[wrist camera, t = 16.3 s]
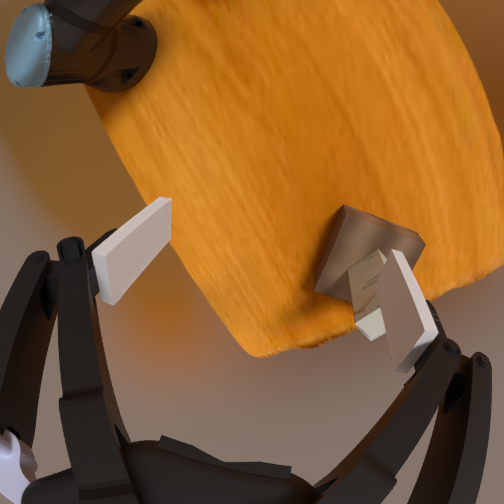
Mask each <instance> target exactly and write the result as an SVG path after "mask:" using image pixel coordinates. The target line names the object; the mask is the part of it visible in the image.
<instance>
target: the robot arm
mask: <svg viewBox="0 0 504 504" xmlns="http://www.w3.org/2000/svg"><path fill="white" fill-rule="evenodd" d="M141 1H143V0H45V1H44V3H43V4H42V3H40V2H38V3H35V4H31V5H29V6H28V7H27V8H25V9H24V10H23V11H22V12H21V13H20V14H19V16H18V17H17V19H16V20H15V22H14V24H13V26H12V28H11V31H10V34H9V37H8V40H7V44H6V50H5V51H6V52H5V68H6V73H7V76H8V78H9V80H10V82H11V83H12V84H13V85H14V86H16V87H20V88H22V87H34V88H38V87H44V86H52V85H62V84H74V83H84V84H86V85H88V86H91V87H93V88H95V89H97V90H99V91H103V92H119V91H123V90H126V89H128V88H130V87H132V86H133V85H135V84H136V83H137V82H138V81H139V80H140V79H141V78H142V77H143V76H144V75H145V74H146V72H147V71H148V69H149V68H150V66H151V64H152V62H153V60H154V57H155V53H156V49H157V36H156V32H155V30H154V28H153V26H152V25H151V23H150V22H148V21H147V20H146V19H144V18H141V17H138V16H136V15H130V14H129V13H130V12H131V11H132V10H133V9H134V8H135V7H136V6H137V5H138V4H139V3H140V2H141ZM171 203H172V199H170V198H165V197H159V198H158V199H156V200H155V201H154V202H152V203H151V204H150V205H148V206H147V207H146V208H144V209H143V210H142V211H141V212H139V213H138V214H137V215H135V216H134V217H133V218H132V219H130V220H129V221H128V222H127V223H125V224H124V225H123V226H122V227H120V228H119V229H116V228H115V229H113V230H110V231H108V232H106V233H105V234H104V235H103V236H101V238H99V239H98V240H97V241H96V242H94V243H93V244H92V245H90V246H89V247H88V248H87V249H86V250H85V247H84V242H83V240H82V239H81V238H80V237H68V238H65V239H63V240H61V241H60V242H59V243H58V244H57V251H58V255H59V260H60V261H53V260H50V256H49V254H48V252H46V251H36V252H33V253H32V254H31V255H29V256H28V258H27V259H26V260H25V262H24V264H23V266H22V268H21V269H20V271H19V273H18V275H17V277H16V279H15V281H14V282H13V284H12V286H11V288H10V290H9V292H8V294H7V296H6V298H5V301H4V303H3V305H2V307H1V309H0V493H2V494H3V495H4V496H5V497H6V498H8V499H9V500H10V501H12V502H13V503H15V504H381V503H382V501H383V500H384V499H385V498H386V496H387V495H388V494H389V493H390V491H391V490H392V489H393V487H394V486H395V484H396V482H397V479H396V478H395V476H396V474H397V473H398V471H399V470H400V468H401V467H402V466H403V464H404V463H405V461H406V460H407V458H408V457H409V455H410V454H411V452H412V451H413V449H414V448H415V446H416V445H417V443H418V441H419V440H420V438H421V436H422V435H423V433H424V431H425V430H426V428H427V426H428V425H429V423H430V421H431V419H432V418H433V415H434V414H435V412H436V410H437V408H438V406H439V409H438V413H437V418H436V421H435V426H434V430H433V433H432V437H431V440H430V444H429V447H428V450H427V454H426V456H425V459H424V462H423V466H422V468H421V471H420V474H419V476H418V479H417V482H416V484H415V487H414V489H413V491H412V494H411V496H410V498H409V501H408V503H407V504H475V503H476V500H477V496H478V492H479V488H480V484H481V480H482V475H483V470H484V465H485V460H486V453H487V447H488V439H489V430H490V419H491V402H492V367H491V363H490V361H489V358H488V357H487V356H486V355H484V354H483V353H481V352H476V353H474V354H473V356H472V357H471V358H469V357H466V356H464V355H462V354H461V350H460V348H459V346H458V344H456V343H455V342H454V341H453V340H451V339H449V338H447V337H446V334H445V332H444V329H443V327H442V324H441V322H440V321H439V318H438V316H437V313H436V310H435V308H434V307H433V305H432V304H431V303H430V302H429V300H425V298H424V296H423V294H422V292H421V290H420V287H419V285H418V283H417V281H416V279H415V277H414V275H413V273H412V270H411V268H410V266H409V264H408V262H407V260H406V258H405V256H404V255H403V253H402V252H400V251H397V250H393V249H391V251H390V253H389V256H388V258H387V260H386V263H385V265H384V267H383V269H382V271H381V274H380V276H379V278H378V280H377V282H376V284H375V290H376V294H377V298H378V301H379V305H380V309H381V313H382V317H383V322H384V326H385V330H386V334H387V339H388V344H389V349H390V354H391V359H392V364H393V370H394V372H399V373H408V371H409V370H410V369H411V368H412V367H413V366H414V367H415V373H414V374H413V375H412V376H411V378H410V379H409V380H408V381H407V382H406V383H405V384H404V388H403V389H402V391H401V392H400V393H399V395H398V396H397V398H396V399H395V400H394V402H393V403H392V404H391V406H390V407H389V408H388V409H387V411H386V412H385V413H384V414H383V416H382V417H381V418H380V420H379V421H378V422H377V423H376V424H375V426H374V427H373V428H372V429H371V430H370V431H369V433H368V434H367V435H366V436H365V437H364V438H363V440H361V442H360V443H359V444H358V445H357V446H356V447H355V448H354V449H353V450H352V451H351V452H350V453H349V454H348V455H347V456H346V458H344V459H343V460H342V462H340V463H339V464H338V465H337V467H336V468H334V469H333V470H332V471H331V472H330V473H329V474H328V475H327V476H326V477H324V478H323V479H321V480H320V481H319V482H317V483H316V484H315V485H314V486H312V485H310V484H309V483H308V482H307V481H305V480H304V479H302V478H300V477H299V476H296V475H295V474H292V473H291V466H284V465H277V464H271V463H264V462H223V461H221V460H218V459H217V458H215V457H213V456H211V455H209V454H207V453H205V452H203V451H202V450H200V449H198V448H196V447H194V446H193V445H190V444H186V443H183V442H180V441H177V440H174V439H172V438H169V437H166V436H163V435H162V436H161V438H160V440H159V441H154V440H145V441H137V442H132V443H131V441H130V438H129V436H128V433H127V431H126V429H125V426H124V424H123V421H122V418H121V415H120V412H119V408H118V405H117V401H116V398H115V395H114V391H113V387H112V383H111V379H110V375H109V370H108V366H107V361H106V358H105V352H104V347H103V342H102V336H101V331H100V325H99V318H98V312H97V304H96V299H95V296H96V294H98V292H100V296H101V300H102V301H103V302H106V303H108V304H111V305H113V306H115V304H116V303H117V302H118V301H119V299H120V298H121V297H122V296H123V294H124V293H125V292H126V291H127V289H128V288H129V287H130V286H131V284H132V283H133V282H134V281H135V280H136V279H137V277H138V276H139V275H140V274H141V273H142V272H143V270H144V269H145V268H146V267H147V266H148V264H149V263H150V262H151V261H152V260H153V259H154V257H155V256H156V255H157V254H158V253H159V252H160V251H161V250H162V248H163V247H164V246H165V245H166V244H167V243H168V242H169V241H170V239H171ZM57 313H58V347H59V361H60V373H61V382H62V391H63V397H62V398H59V411H60V417H61V423H62V428H63V433H64V437H65V443H66V447H67V451H68V455H69V459H70V463H71V468H69V469H66V470H64V471H61V472H58V473H55V474H52V475H49V476H46V477H43V478H40V479H36V476H35V472H36V471H37V468H38V466H37V463H36V461H35V458H34V455H33V452H32V450H31V448H32V444H33V440H34V434H35V427H36V417H37V407H38V400H39V393H40V387H41V381H42V375H43V370H44V365H45V360H46V355H47V351H48V346H49V342H50V339H51V335H52V331H53V327H54V323H55V320H56V316H57Z"/></svg>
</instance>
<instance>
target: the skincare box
mask: <svg viewBox="0 0 504 504" xmlns="http://www.w3.org/2000/svg"><path fill="white" fill-rule="evenodd" d="M386 260H387V259H386V258H385V256H384V255H383V254H382V253H381V251H380V250H379V249H377V250H375V251H374V252H372V253H371V254H369V255H368V256H367V257H365V258H364V259H362V260H361V261H360V262H358V263H357V264H355V265H354V266H352V267H351V268H350V269H348V277H349V283H350V290H351V297H352V304H353V312H354V320H355V324H356V326H357V327H358V328H359V329H360V330H361V331H362V332H363V333H364V334H365V335H366V336H367V337H368V338H369V340H371V341H372V340H374V339H376V338H378V337H379V336H381V335H383V334H385V333H386V330H385V326H384V322H383V317H382V313H381V309H380V305H379V301H378V298H377V294H376V290H375V284H376V282H377V280H378V278H379V276H380V274H381V271H382V269H383V267H384V265H385V263H386Z"/></svg>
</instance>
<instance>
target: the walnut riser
mask: <svg viewBox="0 0 504 504" xmlns="http://www.w3.org/2000/svg"><path fill="white" fill-rule="evenodd" d="M425 245H426V244H425V243H424V242H423V240H422V239H421V237H420V236H419V235H418V233H416V232H414V231H411V230H409V229H407V228H404V227H402V226H399V225H397V224H394V223H392V222H389V221H387V220H384V219H382V218H379V217H376V216H374V215H371V214H369V213H366V212H363V211H361V210H358V209H355V208H352V207H350V206H347V205H344V204H343V206H342V209H341V212H340V214H339V217H338V219H337V222H336V225H335V227H334V230H333V232H332V235H331V237H330V240H329V242H328V244H327V247H326V249H325V252H324V254H323V257H322V259H321V261H320V264H319V266H318V268H317V271H316V273H315V275H314V291H315V292H318V293H322V294H325V295H328V296H331V297H335V298H338V299H341V300H345V301H348V302H351V303H352V297H351V290H350V283H349V277H348V269H350V268H351V267H352V266H354V265H355V264H357V263H358V262H360V261H361V260H362V259H364V258H365V257H367V256H368V255H369V254H371V253H372V252H374V251H375V250H377V249H379V250H380V251H381V253H382V254H383V255H384V256H385V258H386V259H387V258H388V256H389V253H390V251H391V249H393V250H397V251H400V252H402V253H403V255H404V256H405V258H406V260H407V262H408V264H409V266H410V268H411V270H413V268H414V266H415V264H416V262H417V260H418V259H419V257H420V255H421V253H422V251H423V249H424V247H425Z"/></svg>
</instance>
